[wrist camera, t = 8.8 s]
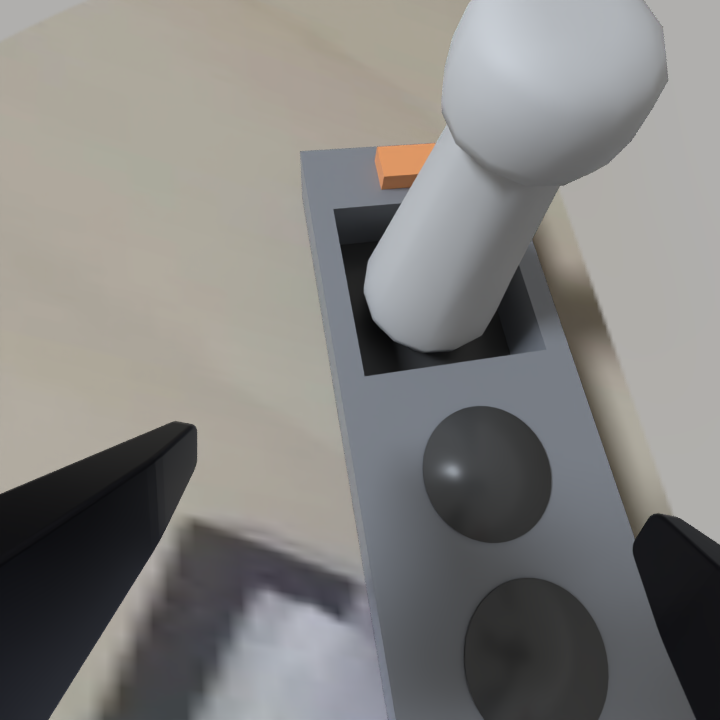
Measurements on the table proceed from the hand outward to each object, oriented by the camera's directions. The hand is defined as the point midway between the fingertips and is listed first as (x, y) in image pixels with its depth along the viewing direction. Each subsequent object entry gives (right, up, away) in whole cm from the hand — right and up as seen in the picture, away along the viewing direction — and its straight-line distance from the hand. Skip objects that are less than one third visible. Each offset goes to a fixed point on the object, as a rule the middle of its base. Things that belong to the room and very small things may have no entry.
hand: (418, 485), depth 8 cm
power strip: (+3, -3, +10) cm, 11 cm away
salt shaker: (+2, +5, +12) cm, 13 cm away
